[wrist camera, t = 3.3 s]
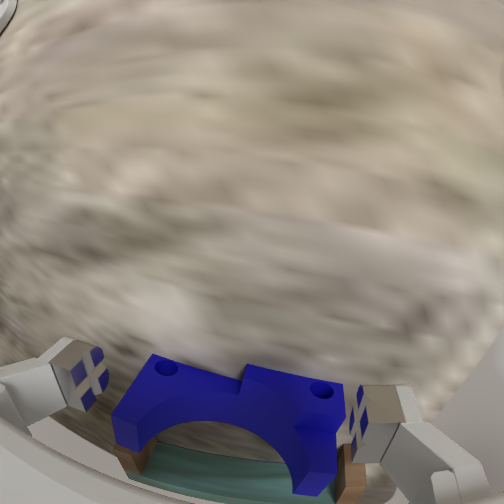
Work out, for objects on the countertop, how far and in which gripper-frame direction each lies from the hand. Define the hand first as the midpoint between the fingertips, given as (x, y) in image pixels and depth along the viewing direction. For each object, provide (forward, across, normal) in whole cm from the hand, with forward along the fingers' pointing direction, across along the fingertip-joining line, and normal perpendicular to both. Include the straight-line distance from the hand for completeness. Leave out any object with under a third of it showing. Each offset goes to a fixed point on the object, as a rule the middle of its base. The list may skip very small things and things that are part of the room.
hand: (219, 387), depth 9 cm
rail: (+8, +1, +15) cm, 17 cm away
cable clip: (+8, +1, +8) cm, 11 cm away
